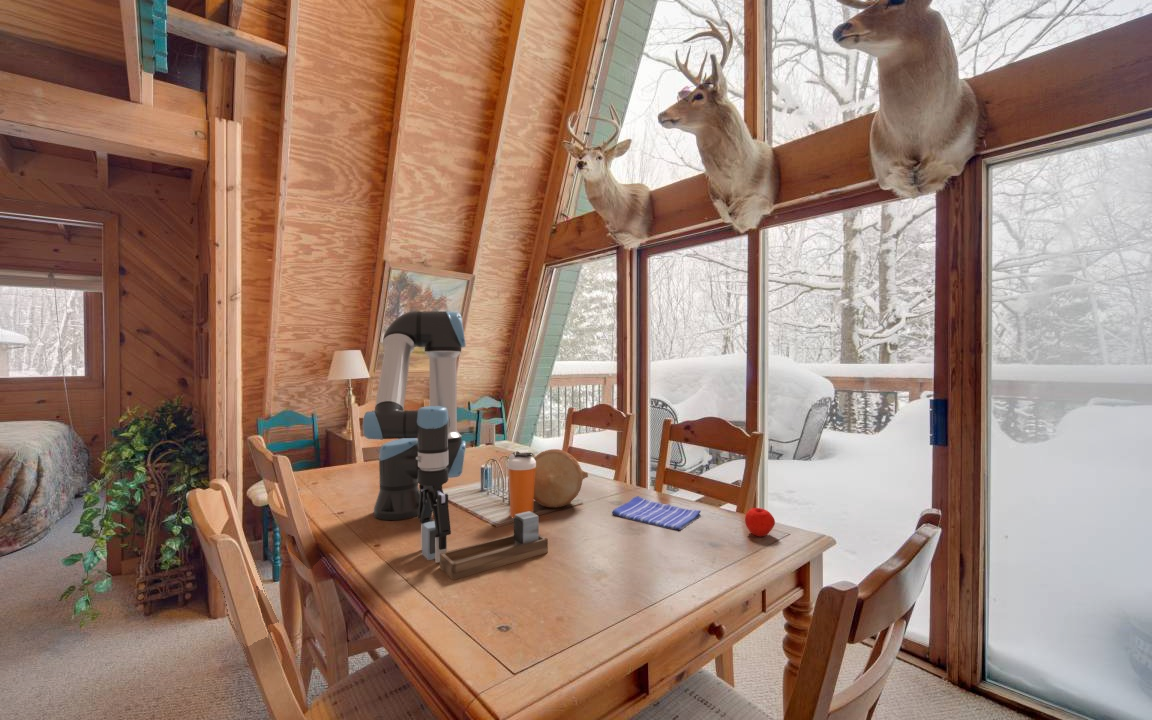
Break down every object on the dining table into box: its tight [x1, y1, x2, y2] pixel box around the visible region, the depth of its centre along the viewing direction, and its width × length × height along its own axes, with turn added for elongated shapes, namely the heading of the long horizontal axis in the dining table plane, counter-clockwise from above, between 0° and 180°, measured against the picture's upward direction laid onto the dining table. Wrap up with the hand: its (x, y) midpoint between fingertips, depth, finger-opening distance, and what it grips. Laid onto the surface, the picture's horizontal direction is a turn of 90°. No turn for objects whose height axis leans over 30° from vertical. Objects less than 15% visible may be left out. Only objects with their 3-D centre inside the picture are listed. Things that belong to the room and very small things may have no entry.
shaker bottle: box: [507, 450, 536, 519], centre depth 159 cm, size 9×9×20 cm
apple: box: [744, 507, 776, 537], centre depth 145 cm, size 8×8×7 cm
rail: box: [439, 511, 549, 581], centre depth 127 cm, size 8×26×10 cm, turn 126°
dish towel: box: [611, 495, 702, 531], centre depth 161 cm, size 17×24×3 cm
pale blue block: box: [421, 520, 437, 561], centre depth 130 cm, size 4×5×8 cm
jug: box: [533, 448, 589, 508], centre depth 177 cm, size 20×19×30 cm
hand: (433, 554), depth 130 cm, fingers open, 9 cm apart
